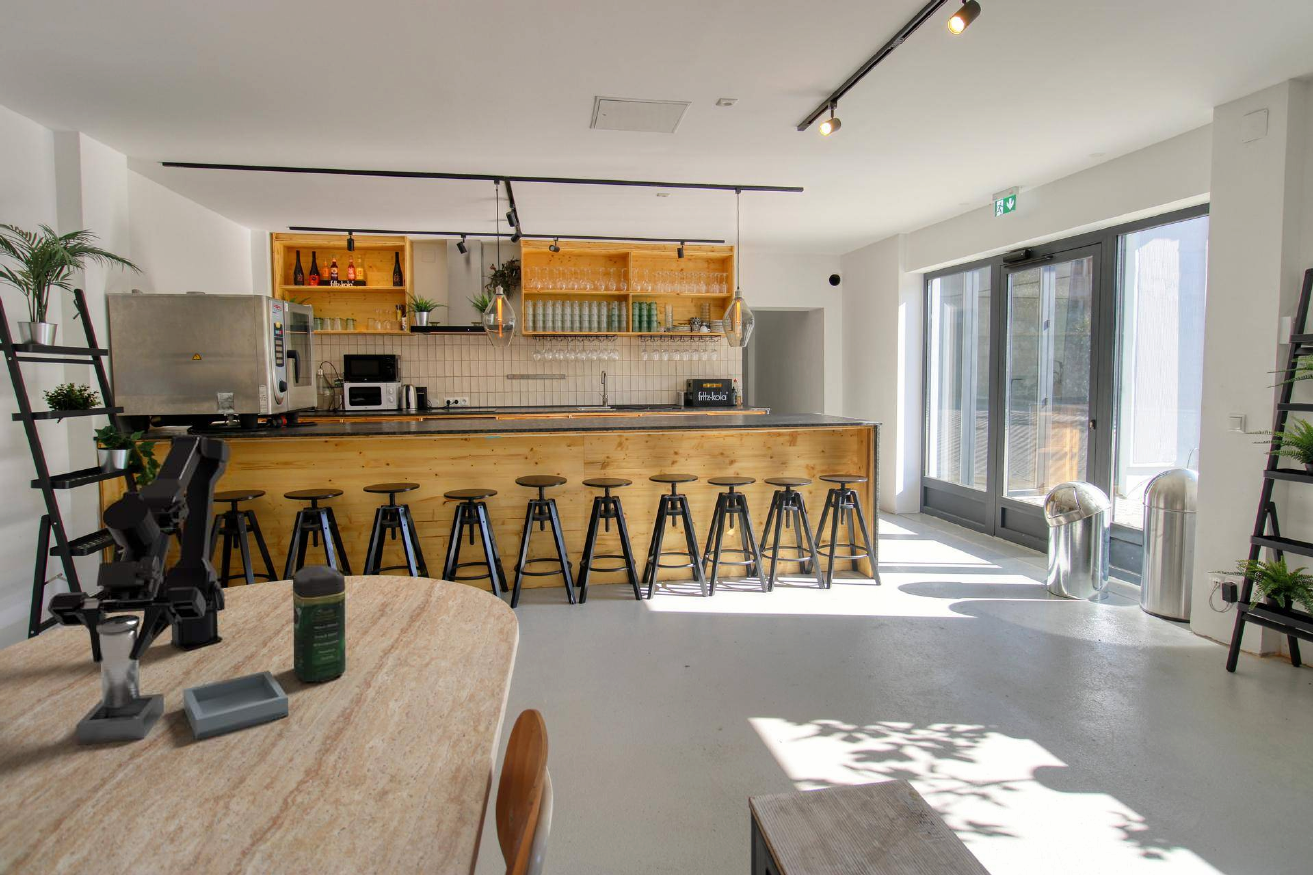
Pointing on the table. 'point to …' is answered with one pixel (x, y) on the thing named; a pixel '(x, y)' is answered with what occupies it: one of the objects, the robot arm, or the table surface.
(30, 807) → the table surface
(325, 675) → the coffee jar
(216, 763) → the table surface
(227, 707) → the parts tray
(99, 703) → the grey square tray
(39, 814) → the table surface
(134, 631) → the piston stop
